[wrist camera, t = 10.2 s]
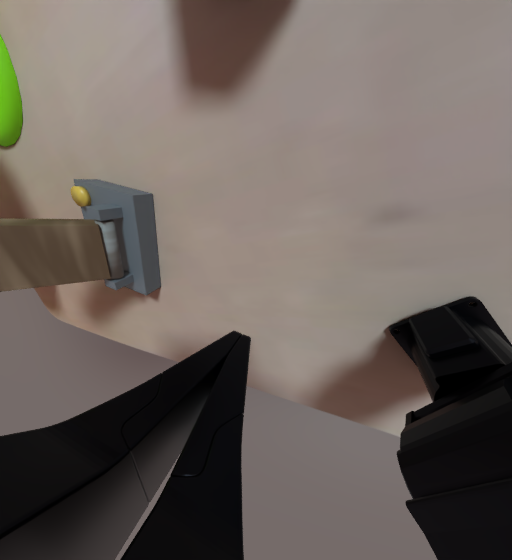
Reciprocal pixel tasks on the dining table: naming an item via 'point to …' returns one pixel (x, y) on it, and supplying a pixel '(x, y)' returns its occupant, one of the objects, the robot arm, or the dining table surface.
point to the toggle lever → (57, 252)
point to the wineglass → (9, 100)
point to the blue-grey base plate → (125, 229)
